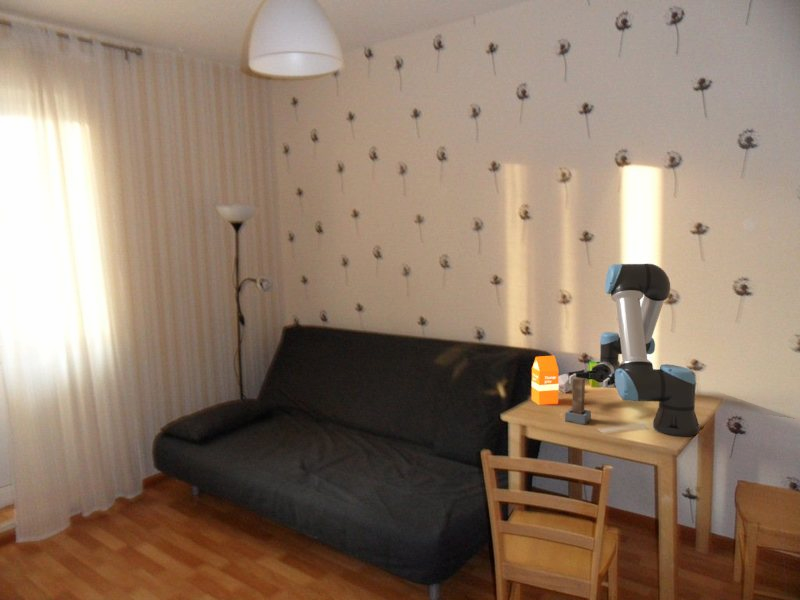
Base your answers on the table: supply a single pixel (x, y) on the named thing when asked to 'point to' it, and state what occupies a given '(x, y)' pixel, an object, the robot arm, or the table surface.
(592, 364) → the puzzle toy
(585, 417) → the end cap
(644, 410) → the table surface
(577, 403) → the brown rectangular block
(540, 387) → the orange juice
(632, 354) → the robot arm
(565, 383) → the crumpled paper ball
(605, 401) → the table surface
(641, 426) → the table surface
